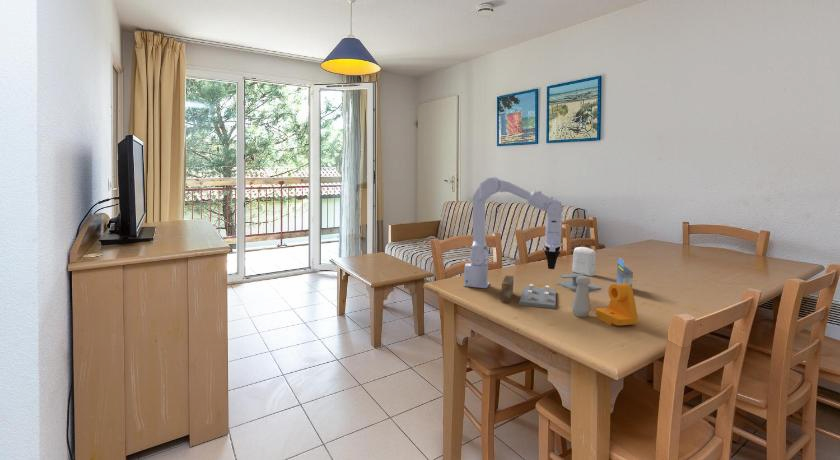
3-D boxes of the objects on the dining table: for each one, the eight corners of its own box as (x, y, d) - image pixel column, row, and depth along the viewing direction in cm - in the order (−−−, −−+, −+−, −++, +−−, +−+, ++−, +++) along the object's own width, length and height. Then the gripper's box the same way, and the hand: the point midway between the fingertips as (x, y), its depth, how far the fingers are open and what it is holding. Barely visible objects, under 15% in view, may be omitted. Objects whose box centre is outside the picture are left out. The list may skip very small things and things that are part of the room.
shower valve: (551, 272, 174) (580, 269, 179) (550, 285, 175) (580, 282, 180) (572, 279, 162) (602, 276, 168) (571, 293, 163) (601, 290, 168)
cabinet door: (498, 302, 151) (499, 283, 150) (502, 292, 162) (503, 275, 161) (509, 303, 149) (510, 284, 148) (512, 293, 161) (513, 276, 160)
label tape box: (632, 293, 163) (635, 262, 162) (621, 292, 164) (623, 261, 162) (626, 286, 172) (628, 257, 170) (615, 286, 173) (617, 257, 171)
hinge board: (519, 304, 147) (519, 294, 147) (523, 289, 166) (524, 280, 166) (555, 308, 144) (555, 298, 143) (555, 292, 163) (555, 283, 162)
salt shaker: (568, 312, 140) (570, 274, 138) (584, 312, 141) (587, 274, 139) (576, 318, 134) (578, 279, 133) (593, 318, 135) (596, 278, 133)
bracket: (593, 316, 137) (596, 280, 135) (612, 314, 139) (615, 279, 137) (616, 328, 127) (620, 289, 125) (637, 326, 128) (640, 288, 127)
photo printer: (596, 275, 190) (597, 248, 188) (590, 276, 188) (592, 249, 186) (576, 270, 198) (577, 245, 197) (570, 272, 196) (572, 246, 194)
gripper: (564, 235, 152) (562, 271, 154) (564, 229, 165) (562, 263, 167) (544, 234, 154) (542, 270, 156) (545, 228, 168) (543, 262, 170)
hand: (551, 266), depth 162 cm, fingers open, 7 cm apart
